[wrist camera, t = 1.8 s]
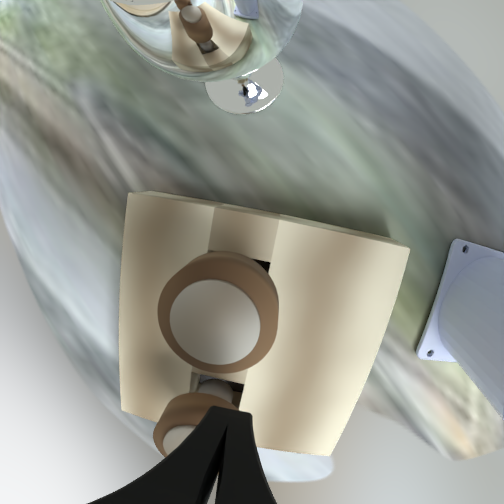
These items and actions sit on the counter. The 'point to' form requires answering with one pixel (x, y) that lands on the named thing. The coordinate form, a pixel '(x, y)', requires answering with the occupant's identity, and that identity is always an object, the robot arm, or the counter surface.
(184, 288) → the knob
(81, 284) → the counter surface
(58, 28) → the counter surface
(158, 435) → the knob
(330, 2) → the counter surface
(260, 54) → the wineglass
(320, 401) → the knob panel
